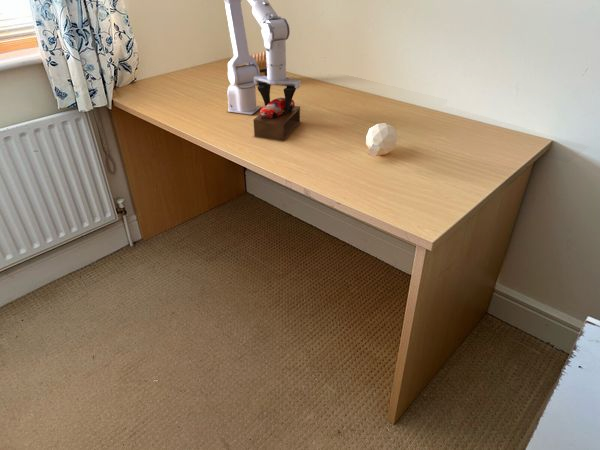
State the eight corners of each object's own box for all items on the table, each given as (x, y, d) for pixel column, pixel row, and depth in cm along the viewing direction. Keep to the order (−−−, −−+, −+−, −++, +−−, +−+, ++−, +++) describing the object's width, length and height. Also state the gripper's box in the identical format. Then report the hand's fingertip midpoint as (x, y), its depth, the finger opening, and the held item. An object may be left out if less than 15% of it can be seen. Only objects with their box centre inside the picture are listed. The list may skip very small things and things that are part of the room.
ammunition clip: (249, 85, 179) (247, 55, 172) (246, 84, 180) (244, 54, 173) (268, 80, 185) (267, 50, 178) (265, 79, 186) (264, 49, 179)
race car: (269, 120, 132) (269, 108, 129) (256, 116, 134) (256, 104, 132) (297, 109, 140) (297, 96, 137) (285, 105, 143) (284, 93, 140)
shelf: (254, 136, 135) (253, 119, 132) (274, 119, 148) (273, 102, 145) (282, 140, 133) (282, 123, 130) (300, 122, 145) (300, 106, 142)
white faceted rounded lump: (367, 137, 131) (353, 157, 123) (378, 112, 124) (364, 131, 116) (393, 150, 129) (381, 171, 122) (406, 125, 123) (393, 146, 115)
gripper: (248, 64, 128) (251, 109, 135) (294, 69, 124) (294, 115, 131) (258, 59, 133) (260, 102, 141) (302, 63, 129) (302, 107, 137)
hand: (277, 108), depth 136 cm, fingers closed on race car, 6 cm apart
